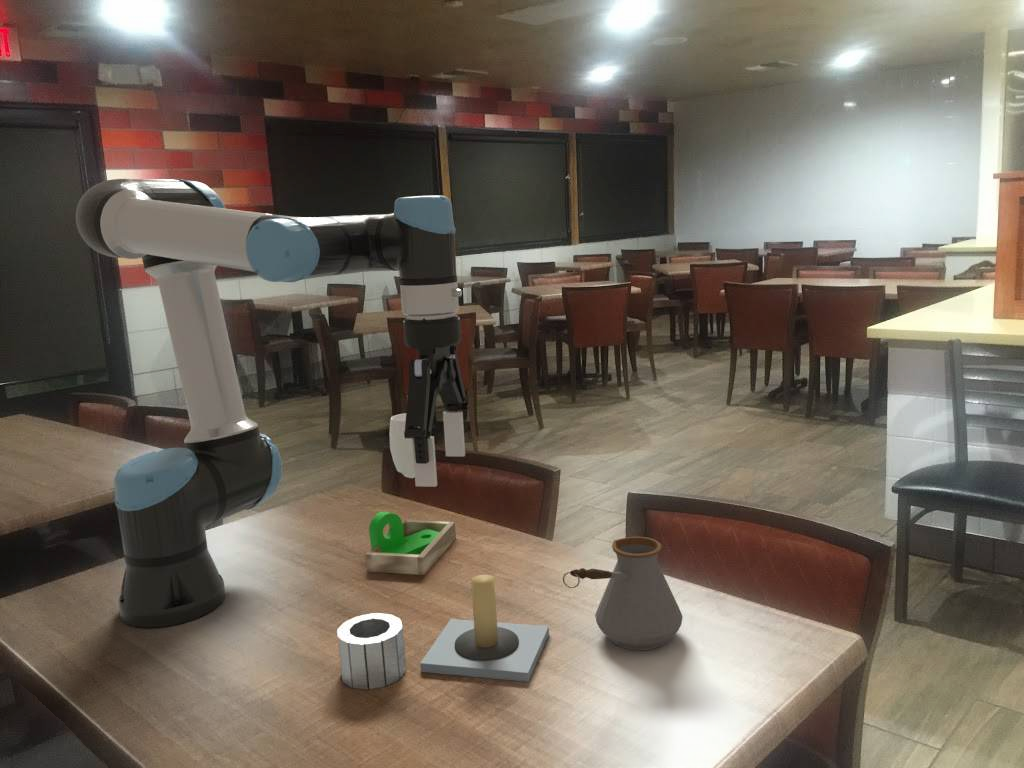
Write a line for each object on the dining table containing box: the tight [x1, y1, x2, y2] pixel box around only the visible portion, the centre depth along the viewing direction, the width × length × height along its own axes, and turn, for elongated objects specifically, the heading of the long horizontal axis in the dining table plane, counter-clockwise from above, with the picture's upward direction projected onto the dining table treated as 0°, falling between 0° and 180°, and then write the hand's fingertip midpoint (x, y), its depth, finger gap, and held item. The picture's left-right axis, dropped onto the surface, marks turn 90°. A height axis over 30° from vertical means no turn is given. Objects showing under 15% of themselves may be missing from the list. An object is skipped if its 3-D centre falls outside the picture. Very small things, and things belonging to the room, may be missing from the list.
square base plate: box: [419, 574, 550, 683], centre depth 109 cm, size 14×12×10 cm
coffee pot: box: [562, 536, 684, 651], centre depth 107 cm, size 21×12×15 cm, turn 142°
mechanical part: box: [368, 510, 439, 555], centre depth 143 cm, size 12×6×8 cm, turn 134°
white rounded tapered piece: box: [388, 412, 420, 479], centre depth 157 cm, size 7×7×21 cm
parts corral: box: [365, 519, 457, 576], centre depth 144 cm, size 10×16×3 cm, turn 165°
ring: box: [336, 612, 407, 691], centre depth 106 cm, size 8×8×6 cm
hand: (441, 470), depth 115 cm, fingers open, 13 cm apart
